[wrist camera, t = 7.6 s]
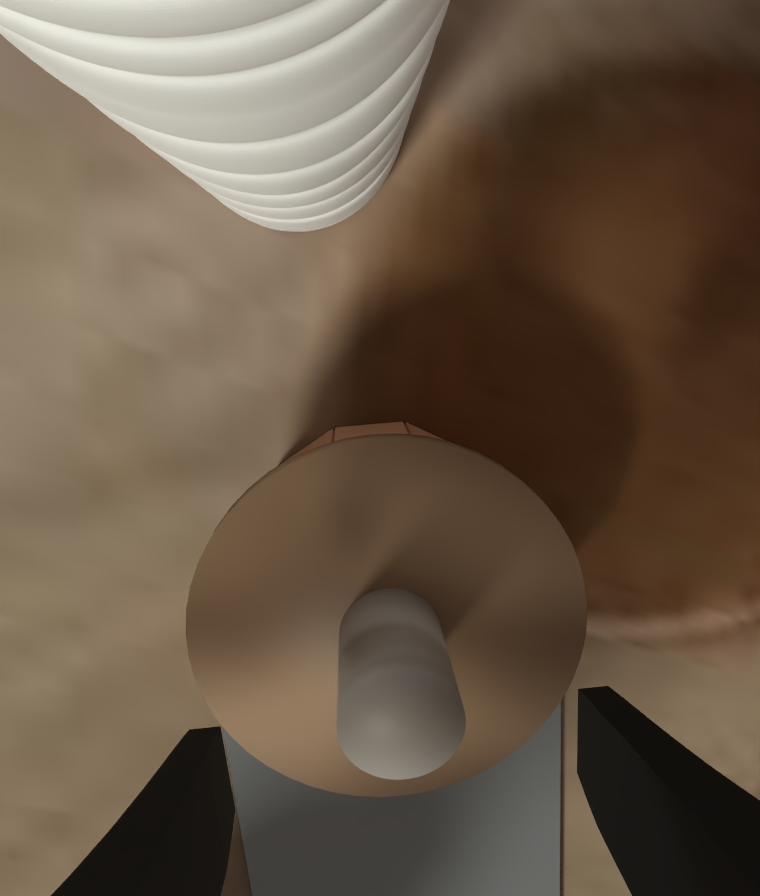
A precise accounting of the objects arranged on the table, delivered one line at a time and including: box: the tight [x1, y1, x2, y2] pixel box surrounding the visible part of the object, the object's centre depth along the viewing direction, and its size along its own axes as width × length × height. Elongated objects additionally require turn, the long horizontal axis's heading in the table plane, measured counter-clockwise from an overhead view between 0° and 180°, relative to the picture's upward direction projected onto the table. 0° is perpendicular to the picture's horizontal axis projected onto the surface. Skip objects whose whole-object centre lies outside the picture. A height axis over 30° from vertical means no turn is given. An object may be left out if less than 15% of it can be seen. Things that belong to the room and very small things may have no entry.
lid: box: [186, 433, 587, 797], centre depth 14 cm, size 11×11×4 cm
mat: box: [222, 701, 561, 896], centre depth 24 cm, size 13×13×1 cm
